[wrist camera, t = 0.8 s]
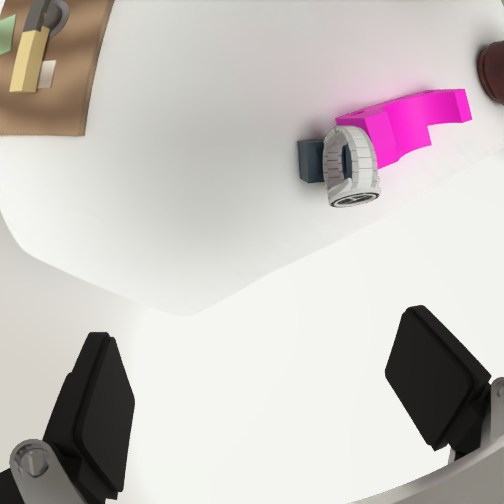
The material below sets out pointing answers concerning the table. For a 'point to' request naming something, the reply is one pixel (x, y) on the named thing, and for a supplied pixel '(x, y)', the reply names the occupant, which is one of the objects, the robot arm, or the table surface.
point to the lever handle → (33, 44)
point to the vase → (492, 70)
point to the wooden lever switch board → (52, 69)
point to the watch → (341, 166)
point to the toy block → (407, 121)
